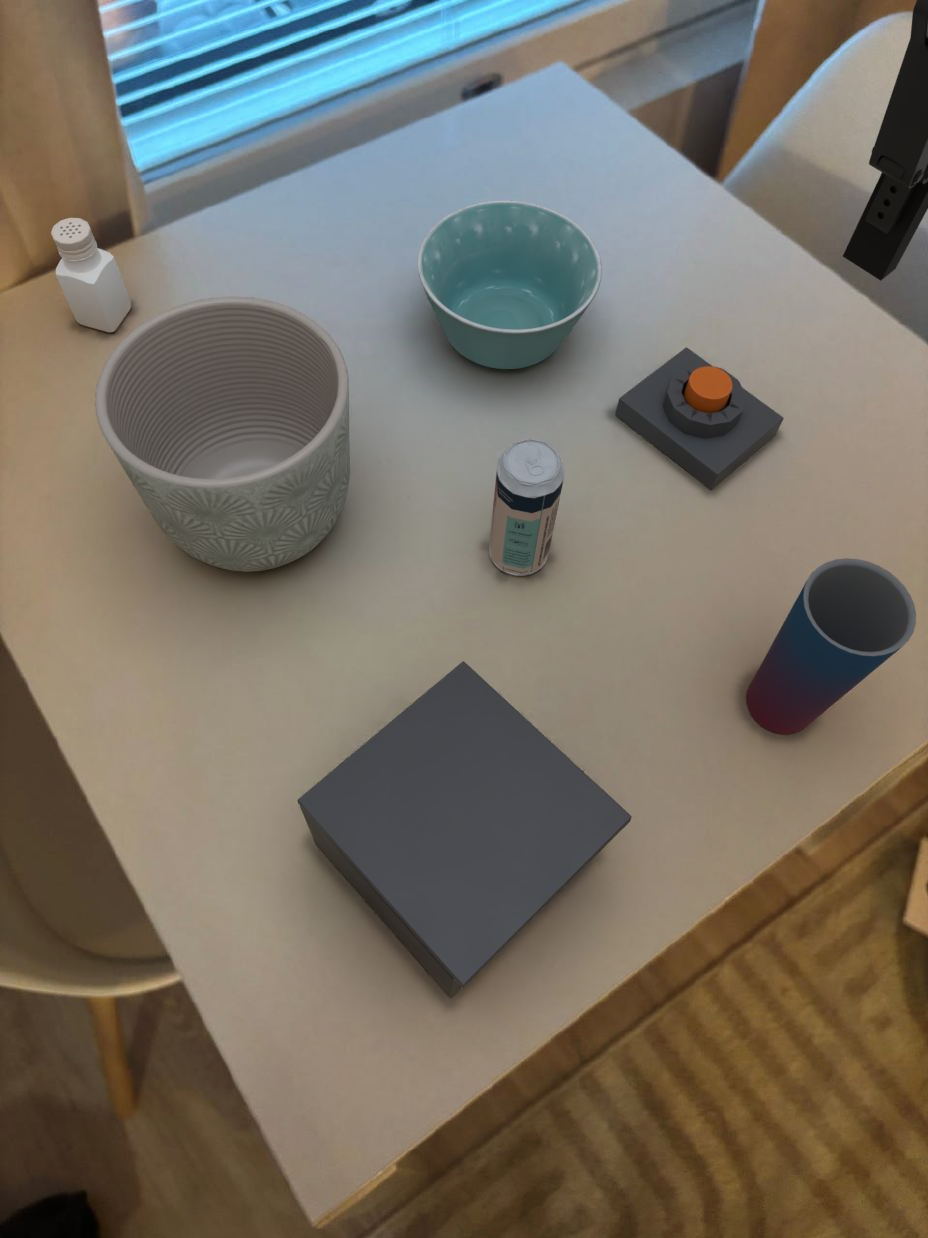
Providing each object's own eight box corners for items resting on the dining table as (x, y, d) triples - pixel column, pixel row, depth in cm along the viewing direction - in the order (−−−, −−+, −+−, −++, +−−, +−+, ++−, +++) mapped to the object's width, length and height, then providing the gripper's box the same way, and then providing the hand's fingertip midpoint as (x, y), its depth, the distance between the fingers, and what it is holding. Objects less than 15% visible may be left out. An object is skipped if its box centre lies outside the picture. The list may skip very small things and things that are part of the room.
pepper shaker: (75, 325, 86) (36, 239, 78) (96, 296, 88) (61, 209, 80) (114, 336, 86) (80, 251, 77) (135, 306, 88) (103, 220, 79)
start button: (735, 397, 80) (741, 383, 78) (708, 420, 78) (713, 406, 77) (702, 373, 81) (708, 359, 79) (675, 395, 80) (680, 381, 78)
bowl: (577, 411, 83) (591, 342, 76) (402, 383, 84) (400, 313, 77) (597, 287, 91) (611, 213, 83) (436, 262, 91) (436, 188, 84)
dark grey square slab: (630, 821, 56) (632, 816, 55) (463, 988, 51) (463, 986, 50) (463, 666, 61) (463, 660, 61) (298, 804, 57) (296, 800, 56)
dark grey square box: (595, 853, 65) (617, 816, 57) (450, 999, 60) (452, 980, 52) (459, 718, 69) (463, 666, 61) (314, 843, 64) (298, 804, 57)
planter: (379, 583, 74) (367, 463, 61) (160, 621, 72) (98, 505, 59) (345, 419, 82) (328, 280, 69) (147, 448, 80) (89, 311, 66)
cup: (779, 764, 68) (863, 676, 55) (715, 693, 71) (779, 593, 57) (844, 713, 70) (940, 617, 57) (779, 646, 73) (856, 539, 59)
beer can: (532, 521, 77) (548, 425, 67) (557, 567, 75) (578, 476, 65) (479, 539, 76) (486, 445, 66) (502, 586, 74) (514, 497, 64)
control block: (776, 434, 83) (791, 403, 79) (710, 490, 79) (723, 460, 76) (680, 363, 86) (691, 331, 83) (614, 415, 83) (622, 383, 80)
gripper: (1142, -170, 31) (856, 353, 51) (1309, -276, 35) (984, 244, 56) (946, -250, 33) (748, 280, 54) (1125, -340, 38) (879, 181, 58)
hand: (869, 262), depth 55 cm, fingers closed
